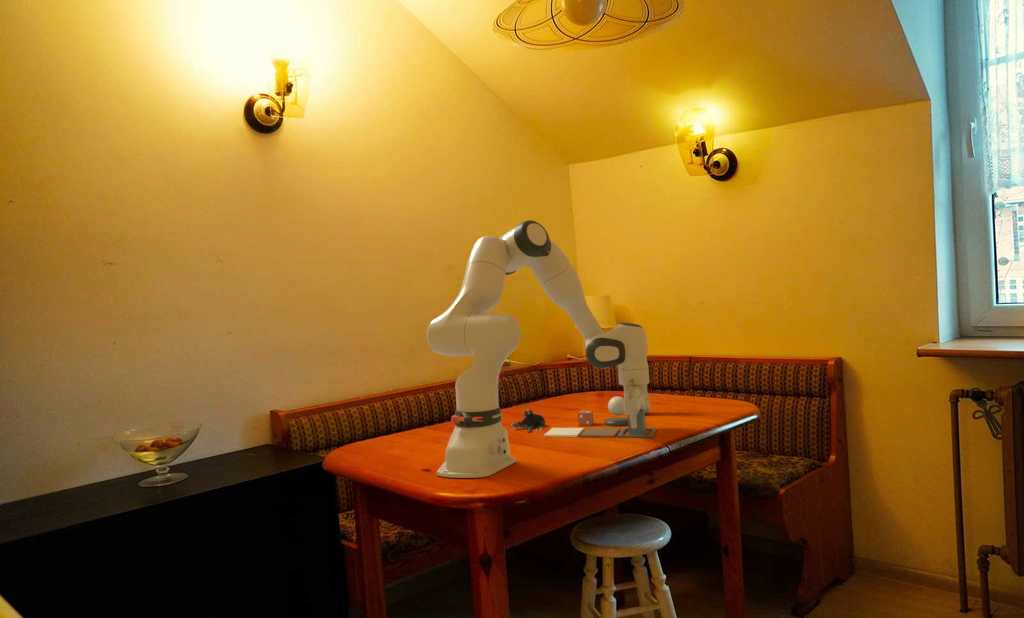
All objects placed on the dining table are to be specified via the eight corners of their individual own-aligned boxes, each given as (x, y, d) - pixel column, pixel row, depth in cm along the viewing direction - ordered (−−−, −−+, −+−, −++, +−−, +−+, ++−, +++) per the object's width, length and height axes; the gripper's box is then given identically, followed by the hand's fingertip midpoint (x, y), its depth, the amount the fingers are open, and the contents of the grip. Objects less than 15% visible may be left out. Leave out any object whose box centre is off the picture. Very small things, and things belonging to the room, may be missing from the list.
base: (630, 426, 221) (630, 423, 221) (601, 426, 223) (601, 422, 223) (634, 420, 229) (634, 417, 229) (607, 420, 232) (606, 417, 232)
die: (591, 425, 225) (590, 412, 225) (578, 425, 226) (577, 412, 226) (593, 423, 229) (592, 410, 229) (581, 423, 230) (580, 410, 230)
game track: (652, 437, 203) (652, 435, 203) (544, 436, 213) (544, 434, 213) (656, 430, 213) (656, 428, 213) (552, 429, 223) (552, 427, 223)
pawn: (643, 435, 207) (642, 401, 206) (628, 435, 208) (626, 401, 208) (645, 432, 211) (644, 398, 211) (630, 432, 212) (629, 398, 212)
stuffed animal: (532, 418, 238) (546, 401, 229) (542, 445, 233) (557, 429, 224) (501, 423, 232) (514, 406, 223) (510, 451, 228) (524, 435, 219)
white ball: (626, 417, 222) (625, 398, 222) (607, 417, 224) (605, 398, 224) (629, 413, 228) (627, 394, 228) (610, 413, 230) (609, 395, 230)
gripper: (640, 383, 198) (642, 432, 199) (648, 372, 218) (651, 417, 219) (617, 383, 200) (620, 432, 201) (628, 372, 220) (630, 417, 220)
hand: (636, 424), depth 210 cm, fingers open, 8 cm apart
